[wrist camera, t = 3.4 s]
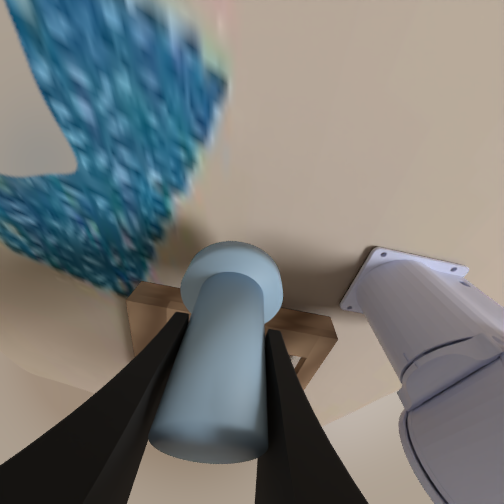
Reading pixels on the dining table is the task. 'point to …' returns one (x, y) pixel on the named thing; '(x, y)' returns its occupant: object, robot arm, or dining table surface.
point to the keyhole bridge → (287, 321)
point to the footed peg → (221, 359)
